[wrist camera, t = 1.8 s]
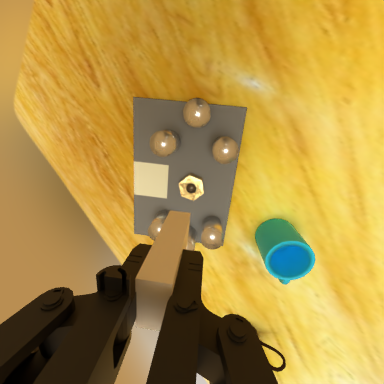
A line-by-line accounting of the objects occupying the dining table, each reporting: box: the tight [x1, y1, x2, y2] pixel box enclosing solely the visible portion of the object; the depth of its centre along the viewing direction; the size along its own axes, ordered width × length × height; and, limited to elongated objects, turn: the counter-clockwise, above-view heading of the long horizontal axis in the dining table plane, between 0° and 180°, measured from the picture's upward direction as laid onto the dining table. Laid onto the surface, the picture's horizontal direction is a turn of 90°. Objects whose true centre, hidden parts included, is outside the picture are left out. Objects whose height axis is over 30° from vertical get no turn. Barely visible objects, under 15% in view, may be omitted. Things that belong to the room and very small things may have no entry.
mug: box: [255, 219, 315, 284], centre depth 37 cm, size 12×8×8 cm
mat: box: [133, 97, 247, 246], centre depth 38 cm, size 28×20×1 cm
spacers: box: [148, 98, 239, 251], centre depth 35 cm, size 28×14×6 cm, turn 175°
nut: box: [179, 173, 204, 201], centre depth 37 cm, size 5×4×2 cm
